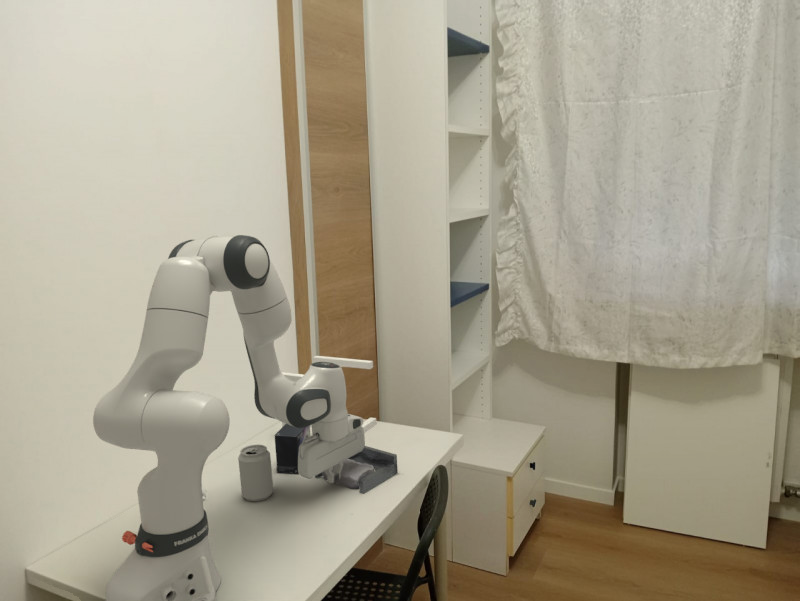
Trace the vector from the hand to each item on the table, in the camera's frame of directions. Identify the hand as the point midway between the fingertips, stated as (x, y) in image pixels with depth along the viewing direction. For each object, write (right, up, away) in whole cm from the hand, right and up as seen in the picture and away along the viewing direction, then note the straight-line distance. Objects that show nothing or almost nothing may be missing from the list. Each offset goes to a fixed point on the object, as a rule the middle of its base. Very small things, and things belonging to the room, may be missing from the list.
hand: (334, 480), depth 166 cm
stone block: (+4, -1, +6) cm, 7 cm away
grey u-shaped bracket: (+5, 0, +6) cm, 8 cm away
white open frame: (-4, +5, +36) cm, 37 cm away
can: (-18, -3, -2) cm, 19 cm away
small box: (-12, 0, +14) cm, 18 cm away
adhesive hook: (-31, -4, -1) cm, 31 cm away
